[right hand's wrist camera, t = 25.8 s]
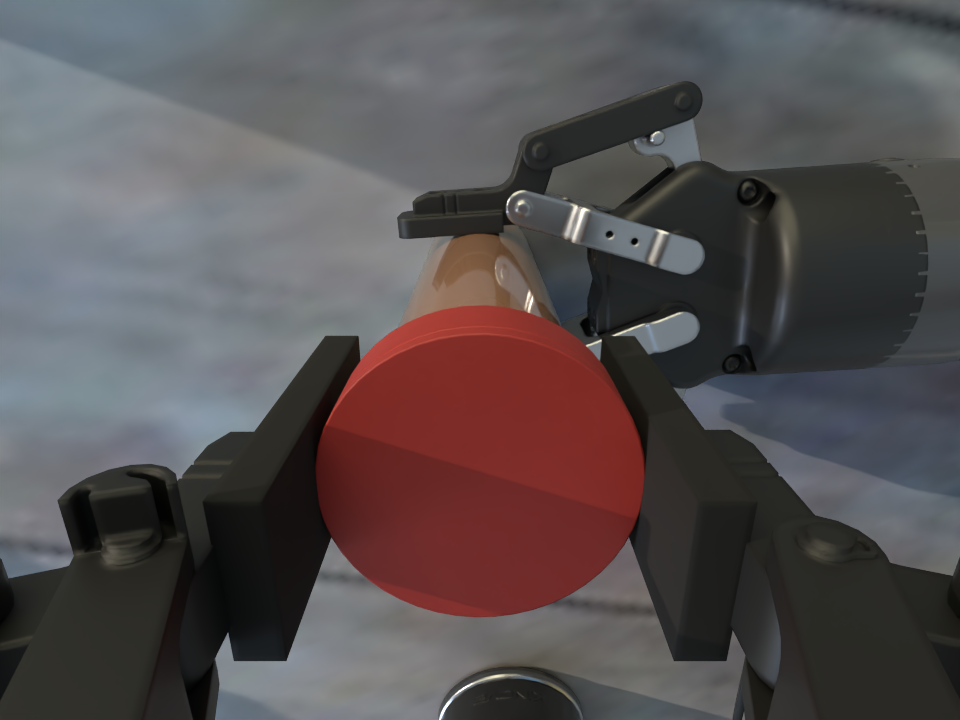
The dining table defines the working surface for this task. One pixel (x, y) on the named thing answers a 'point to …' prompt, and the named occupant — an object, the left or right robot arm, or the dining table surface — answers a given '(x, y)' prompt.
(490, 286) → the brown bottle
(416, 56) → the dining table surface
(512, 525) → the lid
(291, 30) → the dining table surface
